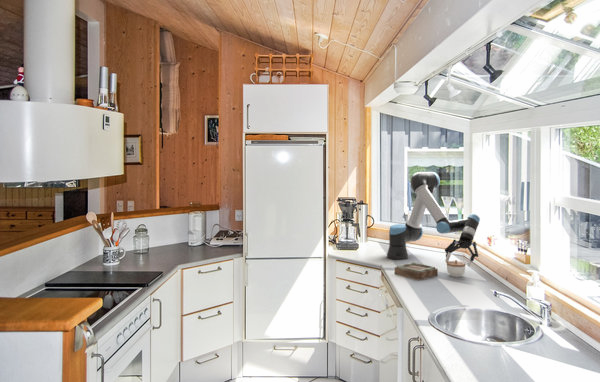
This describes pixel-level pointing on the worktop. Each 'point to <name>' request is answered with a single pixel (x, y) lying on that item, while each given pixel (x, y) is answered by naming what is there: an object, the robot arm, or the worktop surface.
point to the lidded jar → (456, 268)
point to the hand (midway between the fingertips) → (457, 263)
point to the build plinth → (416, 271)
